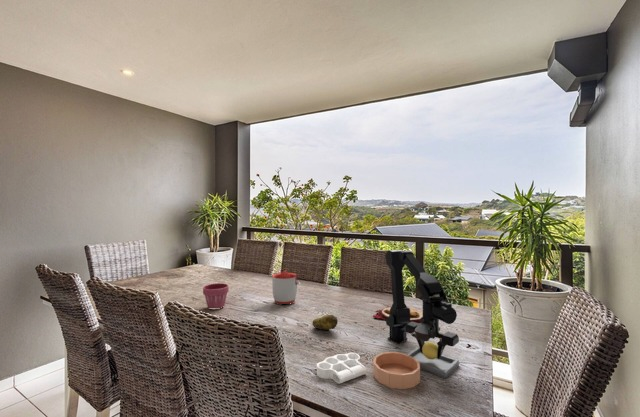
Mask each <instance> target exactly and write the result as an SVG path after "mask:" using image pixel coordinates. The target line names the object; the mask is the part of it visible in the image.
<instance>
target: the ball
mask: <svg viewBox="0 0 640 417" xmlns="http://www.w3.org/2000/svg"><path fill="white" fill-rule="evenodd" d="M422 352H423V354H424V356H425V357H426V358H428V359H436V358H437V357H438V356H437V355H438V345H437V343H435V342H433V341H425V344H424V345H423V347H422Z"/></svg>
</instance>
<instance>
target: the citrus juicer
mask: <svg viewBox="0 0 640 417" xmlns="http://www.w3.org/2000/svg"><path fill="white" fill-rule="evenodd" d="M271 277H272V284H271V285H272V287H271V288H272V290H271V291H272V295H273V300H274V302H276V303H278V304H290V303H292V304H294V303H295V300H296V298H297V294H298V285H301V282H300V280H299V279H298V274H297V273H295V272H294V273H293V272H288V271H287V270H286V269H285V270H283V271H282V272H278V273H274V274H272V275H271ZM293 302H294V303H293ZM276 303H275V304H276ZM278 304H277V305H278ZM290 305H291V304H290Z"/></svg>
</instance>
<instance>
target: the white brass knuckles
mask: <svg viewBox="0 0 640 417" xmlns="http://www.w3.org/2000/svg"><path fill="white" fill-rule="evenodd" d="M367 374H368V369H367V367H366V366H365V365H363V363H361V356H360V355H359V354H358V353H356V352H348V353H337V354H335V355H332V356H327V357H326V358H324V360H323V361H319V362H318V363H316V376H317V377H319V378H320V379H326V380H327V379H331V380H333V381H334V382H335V383H336V384H343V383H345V382H348V381H349V380H354V379H355V378H359V377H362V376H363V375H367Z"/></svg>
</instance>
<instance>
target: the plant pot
mask: <svg viewBox="0 0 640 417" xmlns="http://www.w3.org/2000/svg"><path fill="white" fill-rule="evenodd" d="M229 288H230V287H229V284H227V283H223V282H222V283H221V282H219V283H218V282H217V283H210V284H206V285H204V286H202V294H203V295H204V297H205V302H206V306H207V309H208V308H221V307H223V306H224V307H225V304H226V300H227V296H228V293H229Z"/></svg>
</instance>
